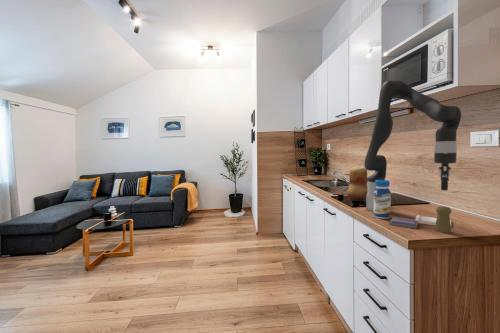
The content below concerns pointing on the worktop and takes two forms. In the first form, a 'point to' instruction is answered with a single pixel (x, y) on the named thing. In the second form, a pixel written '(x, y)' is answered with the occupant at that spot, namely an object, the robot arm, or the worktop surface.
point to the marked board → (426, 220)
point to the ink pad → (404, 222)
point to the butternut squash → (357, 183)
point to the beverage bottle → (382, 199)
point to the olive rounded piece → (443, 220)
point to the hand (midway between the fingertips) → (444, 188)
